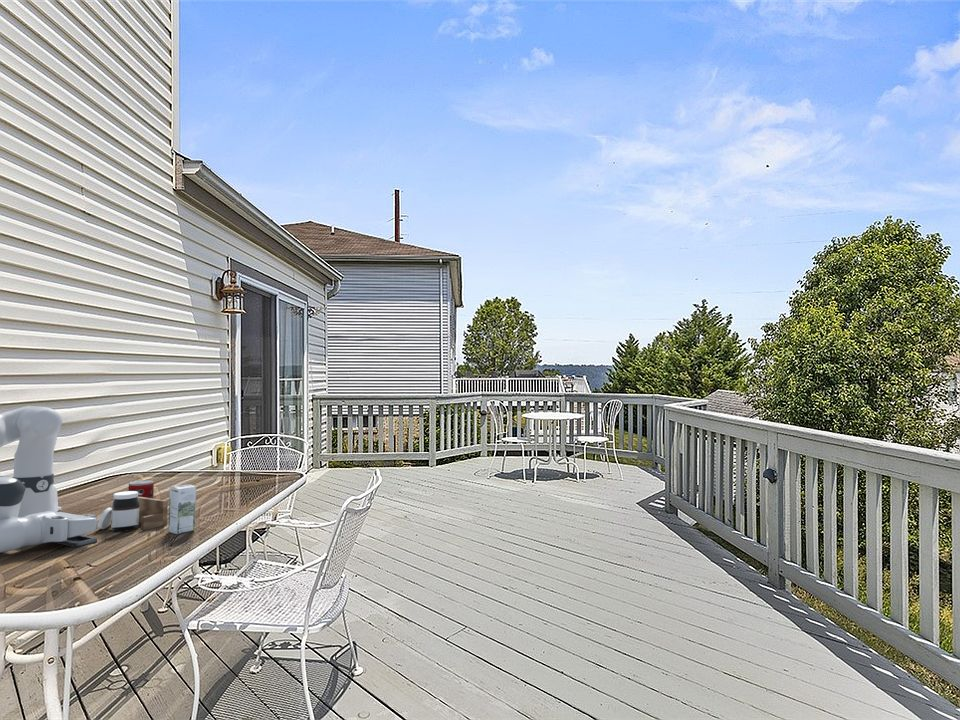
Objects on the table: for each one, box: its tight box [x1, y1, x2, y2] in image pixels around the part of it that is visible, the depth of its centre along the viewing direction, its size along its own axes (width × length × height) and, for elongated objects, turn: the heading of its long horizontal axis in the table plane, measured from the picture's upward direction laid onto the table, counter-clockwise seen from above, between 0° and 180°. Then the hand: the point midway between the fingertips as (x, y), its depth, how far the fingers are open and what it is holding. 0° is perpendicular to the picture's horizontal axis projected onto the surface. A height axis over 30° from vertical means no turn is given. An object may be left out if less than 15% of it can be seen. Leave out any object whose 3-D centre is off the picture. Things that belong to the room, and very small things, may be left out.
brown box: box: [138, 497, 169, 531], centre depth 188 cm, size 17×8×8 cm, turn 65°
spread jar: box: [97, 490, 140, 533], centre depth 182 cm, size 12×11×12 cm
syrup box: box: [167, 484, 197, 535], centre depth 180 cm, size 6×6×14 cm
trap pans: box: [51, 534, 98, 548], centre depth 168 cm, size 18×6×1 cm, turn 65°
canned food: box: [127, 479, 155, 499], centre depth 206 cm, size 8×8×11 cm
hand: (93, 517), depth 175 cm, fingers closed
